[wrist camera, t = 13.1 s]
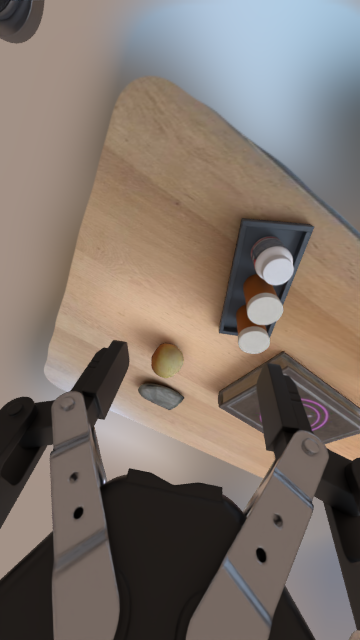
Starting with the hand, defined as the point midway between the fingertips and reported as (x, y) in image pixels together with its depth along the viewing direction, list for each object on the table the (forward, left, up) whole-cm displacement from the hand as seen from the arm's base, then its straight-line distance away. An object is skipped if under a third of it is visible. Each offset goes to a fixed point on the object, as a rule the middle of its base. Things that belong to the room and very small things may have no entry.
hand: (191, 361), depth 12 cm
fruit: (+28, -6, -30) cm, 42 cm away
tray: (+8, +10, -30) cm, 32 cm away
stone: (+47, -8, -30) cm, 56 cm away
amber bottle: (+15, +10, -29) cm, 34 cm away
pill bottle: (+2, +10, -30) cm, 31 cm away
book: (+41, +27, -30) cm, 57 cm away
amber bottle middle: (+8, +10, -29) cm, 32 cm away
